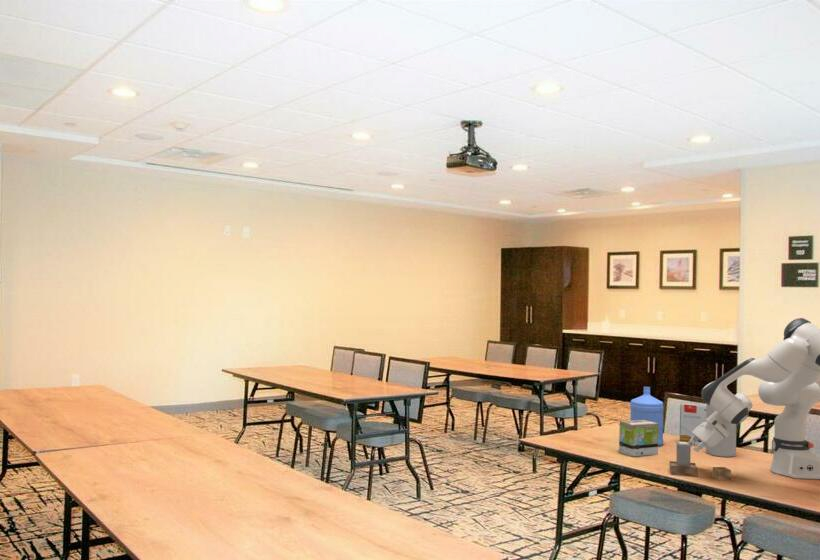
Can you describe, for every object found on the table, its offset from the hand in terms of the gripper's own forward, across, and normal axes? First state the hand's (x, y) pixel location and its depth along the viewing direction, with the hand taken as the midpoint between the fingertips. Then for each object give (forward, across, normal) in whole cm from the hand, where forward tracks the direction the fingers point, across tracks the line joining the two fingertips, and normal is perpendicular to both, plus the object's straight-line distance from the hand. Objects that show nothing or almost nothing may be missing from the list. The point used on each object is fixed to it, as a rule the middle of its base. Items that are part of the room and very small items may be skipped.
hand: (692, 447), depth 269 cm
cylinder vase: (-8, -38, +24) cm, 45 cm away
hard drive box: (-4, -58, +20) cm, 61 cm away
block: (0, +6, +14) cm, 16 cm away
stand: (+10, +1, +5) cm, 11 cm away
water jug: (+13, -54, +2) cm, 55 cm away
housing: (+8, +1, +3) cm, 8 cm away
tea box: (+19, -31, -4) cm, 36 cm away
